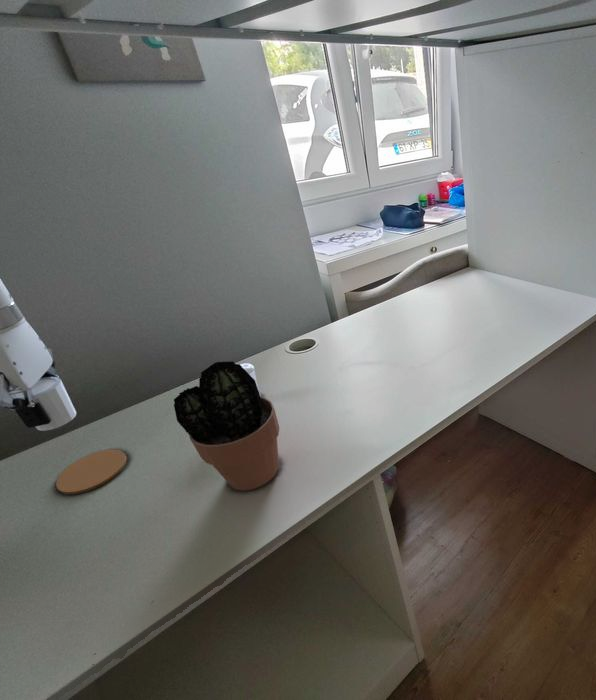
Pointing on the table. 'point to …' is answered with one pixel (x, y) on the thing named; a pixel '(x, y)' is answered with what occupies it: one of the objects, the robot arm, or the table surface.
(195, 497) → the table surface
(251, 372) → the milkshake
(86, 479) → the coaster
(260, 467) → the potted plant
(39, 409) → the robot arm
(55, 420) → the white cylinder
